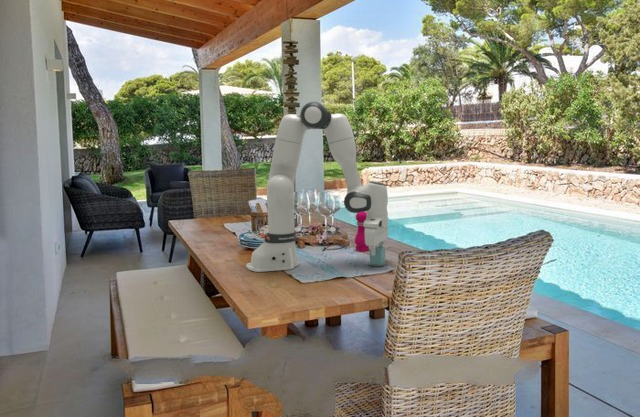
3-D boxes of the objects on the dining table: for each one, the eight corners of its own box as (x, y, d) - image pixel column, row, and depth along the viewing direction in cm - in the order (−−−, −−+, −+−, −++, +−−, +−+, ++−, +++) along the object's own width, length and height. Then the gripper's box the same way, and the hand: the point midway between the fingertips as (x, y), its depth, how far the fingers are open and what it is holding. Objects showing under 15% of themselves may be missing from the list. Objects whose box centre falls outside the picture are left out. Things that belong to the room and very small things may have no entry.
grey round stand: (383, 267, 244) (383, 254, 243) (365, 266, 247) (365, 252, 247) (389, 263, 251) (389, 250, 251) (371, 261, 255) (371, 249, 254)
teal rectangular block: (381, 265, 246) (381, 249, 245) (369, 264, 248) (369, 248, 247) (385, 262, 251) (385, 247, 250) (373, 261, 253) (373, 246, 252)
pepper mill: (369, 252, 274) (368, 209, 271) (353, 251, 275) (353, 209, 273) (370, 248, 281) (370, 207, 278) (355, 248, 282) (355, 206, 280)
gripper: (377, 216, 257) (377, 247, 259) (361, 223, 239) (362, 257, 241) (391, 216, 255) (391, 248, 257) (376, 224, 236) (376, 258, 238)
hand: (377, 252), depth 249 cm, fingers open, 8 cm apart
